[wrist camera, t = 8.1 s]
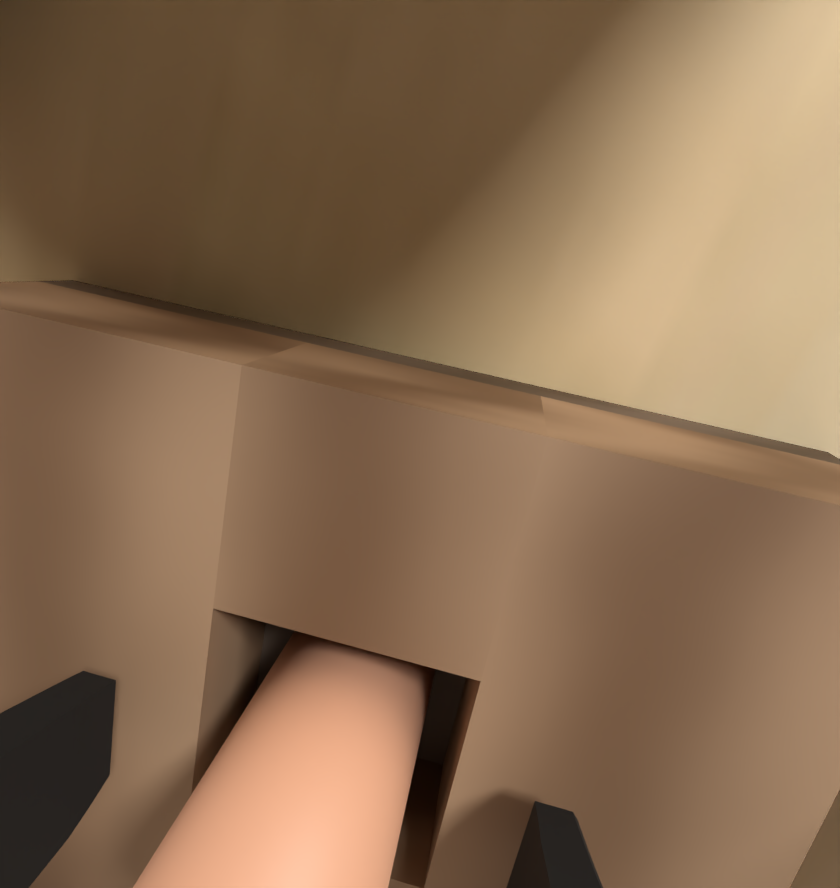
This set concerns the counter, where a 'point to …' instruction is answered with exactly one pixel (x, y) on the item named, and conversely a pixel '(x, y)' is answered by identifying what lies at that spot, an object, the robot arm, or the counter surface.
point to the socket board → (418, 588)
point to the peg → (305, 777)
